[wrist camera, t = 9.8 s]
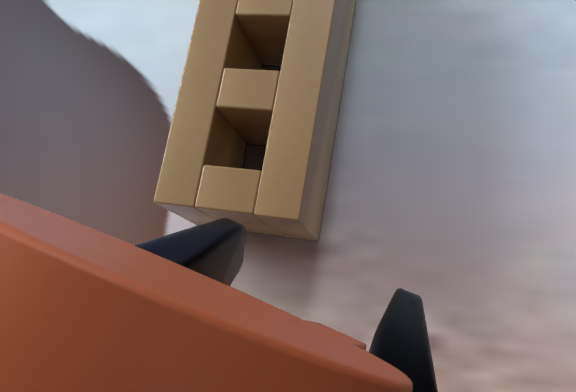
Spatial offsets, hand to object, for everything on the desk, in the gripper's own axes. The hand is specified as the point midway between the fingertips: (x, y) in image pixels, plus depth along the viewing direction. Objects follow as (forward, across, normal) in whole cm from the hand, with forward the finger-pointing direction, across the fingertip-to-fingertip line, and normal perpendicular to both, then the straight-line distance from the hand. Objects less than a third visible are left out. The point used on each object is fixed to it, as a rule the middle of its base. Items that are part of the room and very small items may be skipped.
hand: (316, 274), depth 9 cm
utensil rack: (+13, +7, +3) cm, 15 cm away
